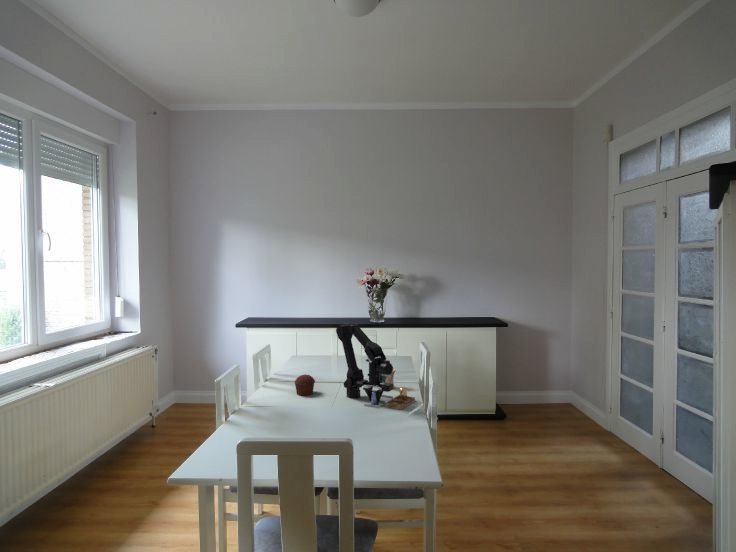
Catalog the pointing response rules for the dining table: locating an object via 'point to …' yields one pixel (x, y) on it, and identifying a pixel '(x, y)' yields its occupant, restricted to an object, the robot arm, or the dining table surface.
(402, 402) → the tray
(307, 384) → the muffin
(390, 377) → the mug
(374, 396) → the cylinder
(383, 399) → the cradle
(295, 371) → the dining table surface
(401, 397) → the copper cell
